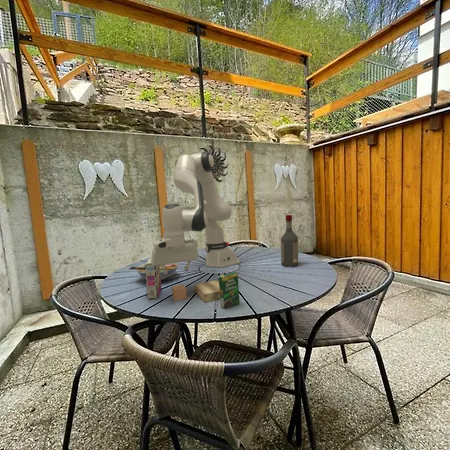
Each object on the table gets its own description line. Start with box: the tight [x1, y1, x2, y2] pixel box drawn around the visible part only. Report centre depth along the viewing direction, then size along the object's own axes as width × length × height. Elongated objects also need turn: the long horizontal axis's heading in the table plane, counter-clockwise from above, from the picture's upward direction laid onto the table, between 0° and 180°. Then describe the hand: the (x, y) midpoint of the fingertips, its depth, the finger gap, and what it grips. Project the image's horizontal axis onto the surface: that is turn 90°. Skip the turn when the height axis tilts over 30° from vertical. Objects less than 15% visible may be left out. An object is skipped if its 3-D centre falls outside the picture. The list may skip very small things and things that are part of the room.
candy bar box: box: [144, 257, 162, 300], centre depth 123 cm, size 11×5×16 cm, turn 5°
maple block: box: [193, 279, 220, 304], centre depth 121 cm, size 12×14×4 cm
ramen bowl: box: [128, 262, 180, 281], centre depth 146 cm, size 25×23×8 cm
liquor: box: [280, 214, 299, 268], centre depth 157 cm, size 9×9×30 cm
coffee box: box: [218, 271, 241, 310], centre depth 107 cm, size 8×3×13 cm, turn 123°
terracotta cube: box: [171, 284, 187, 302], centre depth 118 cm, size 5×5×5 cm
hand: (176, 272), depth 117 cm, fingers open, 8 cm apart
